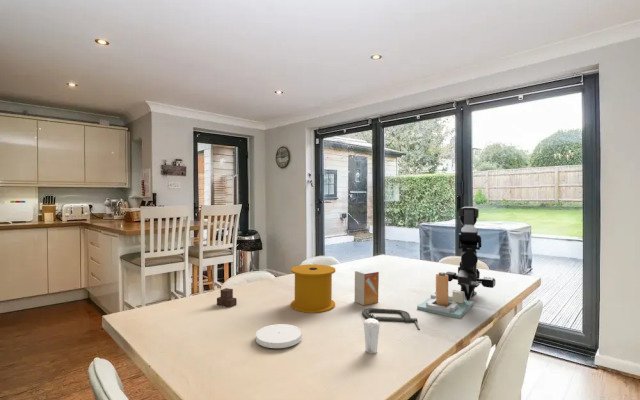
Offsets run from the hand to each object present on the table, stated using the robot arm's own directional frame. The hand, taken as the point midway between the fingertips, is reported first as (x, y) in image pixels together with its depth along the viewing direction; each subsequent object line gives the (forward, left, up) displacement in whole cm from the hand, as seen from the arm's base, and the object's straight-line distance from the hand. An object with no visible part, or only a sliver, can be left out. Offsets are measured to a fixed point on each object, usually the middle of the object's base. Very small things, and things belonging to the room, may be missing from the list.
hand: (468, 300), depth 135 cm
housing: (+6, -7, -2) cm, 10 cm away
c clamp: (+32, -19, -3) cm, 37 cm away
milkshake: (+59, -12, -3) cm, 60 cm away
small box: (+21, -35, -3) cm, 41 cm away
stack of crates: (+59, -78, -3) cm, 98 cm away
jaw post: (+11, -7, -1) cm, 13 cm away
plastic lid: (+70, -38, -3) cm, 79 cm away
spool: (+38, -50, -3) cm, 63 cm away
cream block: (0, -7, -1) cm, 7 cm away
